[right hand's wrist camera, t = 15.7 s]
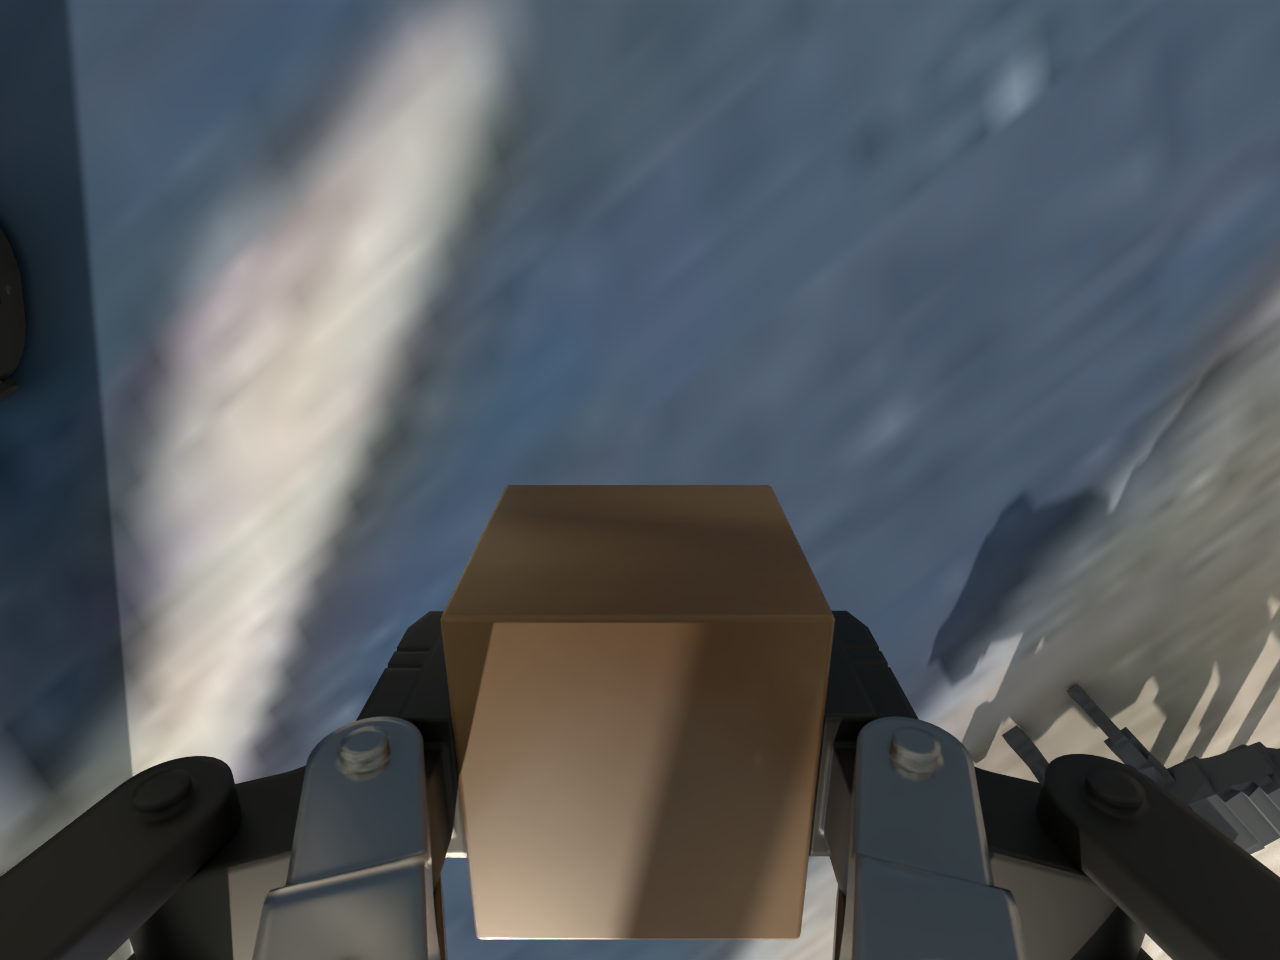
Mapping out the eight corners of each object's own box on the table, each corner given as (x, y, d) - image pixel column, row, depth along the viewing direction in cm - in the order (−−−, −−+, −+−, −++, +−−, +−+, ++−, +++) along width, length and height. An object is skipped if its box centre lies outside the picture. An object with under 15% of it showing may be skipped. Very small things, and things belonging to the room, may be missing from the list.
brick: (522, 732, 14) (474, 942, 10) (504, 483, 12) (437, 616, 8) (754, 732, 14) (801, 942, 10) (771, 483, 12) (837, 616, 8)
